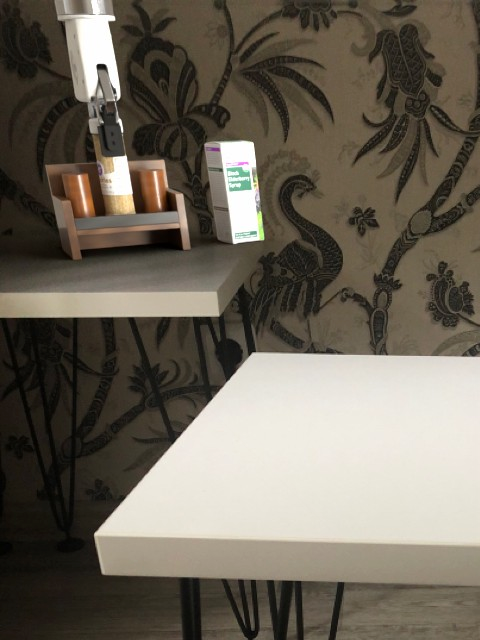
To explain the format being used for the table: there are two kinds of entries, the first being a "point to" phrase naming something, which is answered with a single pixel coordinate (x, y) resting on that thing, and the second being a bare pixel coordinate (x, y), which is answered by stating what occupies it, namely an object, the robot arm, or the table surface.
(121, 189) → the sprinkles bottle
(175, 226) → the spice rack
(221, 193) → the syrup box
